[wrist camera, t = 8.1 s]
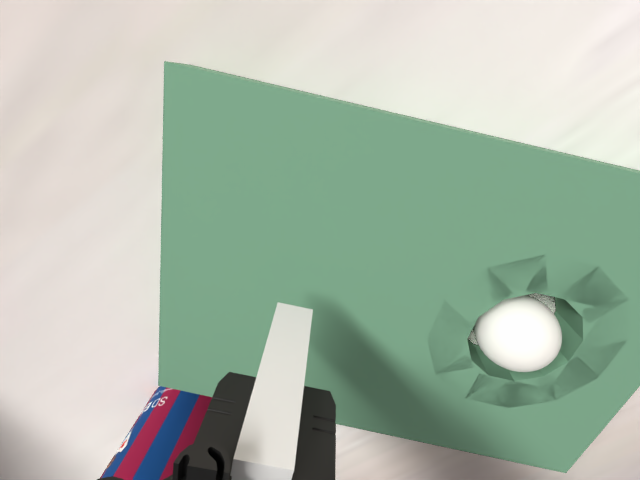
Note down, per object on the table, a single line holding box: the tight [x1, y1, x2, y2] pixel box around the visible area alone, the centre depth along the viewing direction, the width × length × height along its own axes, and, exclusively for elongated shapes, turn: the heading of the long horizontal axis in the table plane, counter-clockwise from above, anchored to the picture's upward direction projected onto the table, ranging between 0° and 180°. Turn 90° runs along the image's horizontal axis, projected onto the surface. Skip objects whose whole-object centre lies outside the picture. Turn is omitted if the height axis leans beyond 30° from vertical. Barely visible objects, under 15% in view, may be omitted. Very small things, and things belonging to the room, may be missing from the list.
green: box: [158, 61, 640, 473], centre depth 19 cm, size 26×18×2 cm
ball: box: [474, 295, 562, 372], centre depth 18 cm, size 4×4×4 cm
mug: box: [100, 386, 212, 480], centre depth 23 cm, size 7×10×7 cm
